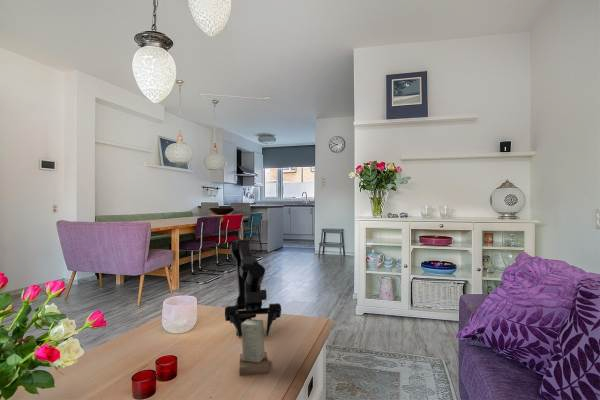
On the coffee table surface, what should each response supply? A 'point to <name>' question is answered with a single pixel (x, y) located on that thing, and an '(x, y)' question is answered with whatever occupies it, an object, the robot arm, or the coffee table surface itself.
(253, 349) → the skincare box
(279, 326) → the coffee table surface
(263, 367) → the walnut plinth
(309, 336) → the coffee table surface
